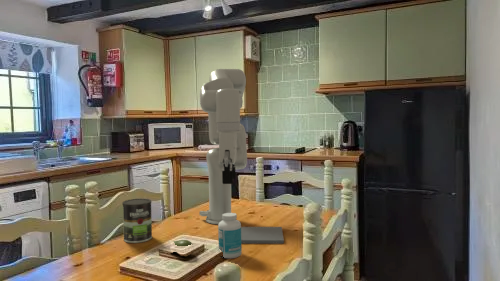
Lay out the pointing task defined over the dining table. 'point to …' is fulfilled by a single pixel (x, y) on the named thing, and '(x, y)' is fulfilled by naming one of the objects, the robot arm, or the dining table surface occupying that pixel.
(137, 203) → the coffee can
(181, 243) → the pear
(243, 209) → the dining table surface
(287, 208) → the dining table surface
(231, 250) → the pill bottle
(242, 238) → the plate
